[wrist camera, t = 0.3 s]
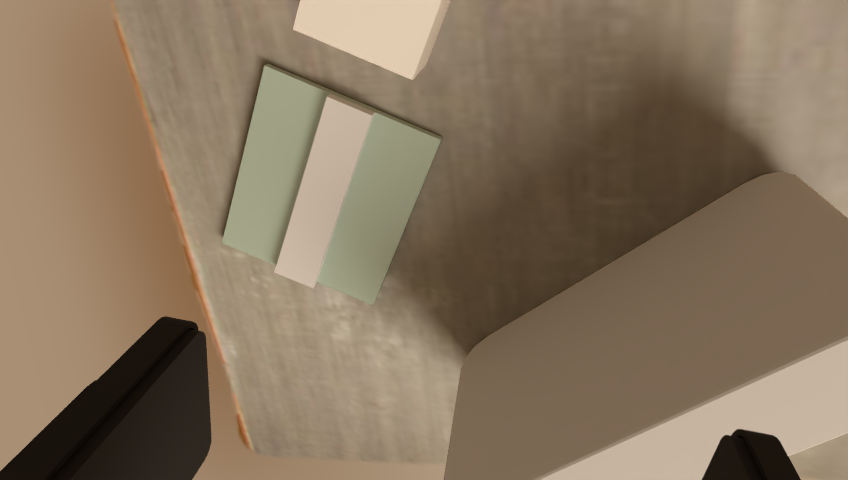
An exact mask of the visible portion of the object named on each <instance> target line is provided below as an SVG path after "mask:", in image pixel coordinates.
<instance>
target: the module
mask: <svg viewBox="0 0 848 480" xmlns="http://www.w3.org/2000/svg"><path fill="white" fill-rule="evenodd" d="M450 1H451V0H300V4H299V8H298V11H297V15H296V19H295V23H294V27H293V30H296V31H298V32H300V33H303V34H305V35H307V36H310V37H312V38H314V39H317V40H319V41H322V42H324V43H326V44H329V45H331V46H333V47H336V48H338V49H340V50H343V51H345V52H347V53H350V54H352V55H355V56H357V57H359V58H362V59H364V60H366V61H369V62H371V63H373V64H376V65H378V66H380V67H383V68H385V69H387V70H390V71H392V72H395V73H397V74H399V75H402V76H404V77H406V78H409V79H411V80H413V79H414V78H415V77H416V76H417V74H418V73H419V72H420V71H421V70H422V69H423V68H424V67H425V66H426V64H427V62H428V60H429V57H430V54H431V52H432V49H433V46H434V44H435V41H436V38H437V36H438V33H439V30H440V28H441V25H442V22H443V20H444V17H445V14H446V11H447V9H448V6H449V3H450Z"/></svg>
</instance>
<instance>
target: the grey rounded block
mask: <svg viewBox="0 0 848 480" xmlns="http://www.w3.org/2000/svg"><path fill="white" fill-rule="evenodd" d="M737 429H744V430H749V431H754V432H759V433H764V434H769V435H774V436H775V437H777V438H778V439H779V441H780V442H781V444H782V446H783V448H784V450H785V451H786V453H787V455H788V456H791V455H793V454H796V453H798V452H801V451H803V450H806V449H808V448H811V447H813V446H816V445H819V444H821V443H824V442H826V441H829V440H831V439H834V438H836V437H839V436H841V435H844V434H847V433H848V218H847V217H846V216H844V215H843V214H842V213H841V212H840V211H838V210H837V209H836V208H835V207H834V206H832V205H831V204H830V203H829V202H828V201H826V200H825V199H824V198H823V197H821V196H820V195H819V194H818V193H817V192H815V191H814V190H813V189H812V188H811V187H809V186H808V185H807V184H806V183H805V182H803V181H802V180H801V179H800V178H798V177H797V176H796V175H792V174H789V173H785V172H775V173H770V174H765V175H761V176H759V177H757V178H755V179H752V180H750V181H748V182H746V183H744V184H742V185H740V186H739V187H737V188H735V189H734V190H732V191H730V192H729V193H727V194H725V195H724V196H722V197H720V198H718V199H717V200H715V201H713V202H712V203H710V204H708V205H707V206H705V207H703V208H702V209H700V210H698V211H697V212H695V213H693V214H692V215H690V216H688V217H687V218H685V219H683V220H682V221H680V222H678V223H677V224H675V225H673V226H672V227H670V228H668V229H666V230H665V231H663V232H661V233H660V234H658V235H656V236H655V237H653V238H651V239H650V240H648V241H646V242H645V243H643V244H641V245H640V246H638V247H636V248H635V249H633V250H631V251H630V252H628V253H626V254H625V255H623V256H621V257H620V258H618V259H616V260H615V261H613V262H611V263H609V264H608V265H606V266H604V267H603V268H601V269H599V270H598V271H596V272H594V273H593V274H591V275H589V276H588V277H586V278H584V279H583V280H581V281H579V282H578V283H576V284H574V285H573V286H571V287H569V288H568V289H566V290H564V291H563V292H561V293H559V294H557V295H556V296H554V297H552V298H551V299H549V300H547V301H546V302H544V303H542V304H541V305H539V306H537V307H536V308H534V309H532V310H531V311H529V312H527V313H526V314H524V315H522V316H521V317H519V318H517V319H516V320H514V321H512V322H511V323H509V324H507V325H506V326H504V327H502V328H500V329H499V330H497V331H495V332H494V333H492V334H490V335H489V336H487V337H486V338H484V339H483V340H482V341H481V342H479V343H478V344H477V345H475V346H474V348H473V349H472V350H471V351H470V353H469V354H468V355H467V356H466V358H465V360H464V363H463V365H462V368H461V373H460V379H459V385H458V392H457V398H456V405H455V411H454V417H453V424H452V430H451V436H450V443H449V449H448V455H447V462H446V468H445V475H444V480H702V478H703V476H704V474H705V472H706V470H707V468H708V465H709V463H710V461H711V459H712V457H713V455H714V453H715V451H716V448H717V446H718V444H719V442H720V440H721V438H722V437H723V436H725V435H730V436H731V435H732V434H733V432H734V431H735V430H737Z"/></svg>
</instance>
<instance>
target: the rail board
mask: <svg viewBox="0 0 848 480" xmlns="http://www.w3.org/2000/svg"><path fill="white" fill-rule="evenodd" d="M441 139H442V137H441V136H439V135H436V134H434V133H432V132H429V131H427V130H424V129H422V128H420V127H417V126H415V125H413V124H410V123H408V122H406V121H403V120H401V119H398V118H396V117H394V116H391V115H389V114H387V113H384V112H382V111H380V110H377V109H375V108H372V107H370V106H368V105H365V104H363V103H361V102H358V101H356V100H353V99H351V98H349V97H346V96H344V95H342V94H339V93H337V92H335V91H332V90H330V89H327V88H325V87H323V86H320V85H318V84H316V83H313V82H311V81H309V80H306V79H304V78H301V77H299V76H297V75H294V74H292V73H290V72H287V71H285V70H282V69H280V68H278V67H275V66H273V65H271V64H267V65H264V69H263V73H262V78H261V82H260V86H259V90H258V94H257V99H256V103H255V107H254V111H253V115H252V119H251V124H250V128H249V132H248V136H247V140H246V145H245V149H244V153H243V157H242V161H241V165H240V170H239V174H238V178H237V182H236V186H235V191H234V195H233V199H232V203H231V207H230V212H229V216H228V220H227V224H226V228H225V232H224V237H223V241H222V243H223V244H225V245H227V246H230V247H232V248H235V249H237V250H239V251H242V252H244V253H247V254H249V255H252V256H254V257H256V258H259V259H261V260H264V261H266V262H269V263H271V264H273V265H276V269H275V273H277V274H280V275H282V276H284V277H287V278H289V279H292V280H294V281H297V282H299V283H301V284H304V285H306V286H309V287H311V288H313V287H314V286H315V284H316V283H319V284H322V285H324V286H327V287H329V288H332V289H334V290H336V291H339V292H341V293H344V294H346V295H348V296H351V297H353V298H356V299H358V300H361V301H363V302H365V303H368V304H370V305H374V302H375V300H376V298H377V295H378V293H379V290H380V288H381V285H382V283H383V281H384V278H385V276H386V273H387V271H388V268H389V266H390V264H391V261H392V259H393V256H394V254H395V251H396V249H397V246H398V244H399V242H400V239H401V237H402V234H403V232H404V229H405V227H406V225H407V222H408V220H409V217H410V215H411V212H412V210H413V208H414V205H415V203H416V200H417V198H418V195H419V193H420V190H421V188H422V186H423V183H424V181H425V178H426V176H427V173H428V171H429V169H430V166H431V164H432V161H433V159H434V156H435V154H436V151H437V149H438V147H439V144H440V142H441Z"/></svg>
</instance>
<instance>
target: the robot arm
mask: <svg viewBox="0 0 848 480" xmlns="http://www.w3.org/2000/svg"><path fill="white" fill-rule="evenodd" d="M210 444H211V423H210V404H209V387H208V368H207V349H206V336H205V334H204V332H201V331H198V326H197V324H196V323H194V322H192V321H186V320H181V319H176V318H171V317H162V318H160V319H159V320H158V321H157V322H156V323H155V324H154V325H153V326H152V327H151V328H150V329H149V330H148V331H147V332H146V333H145V334H144V335H142V336H141V337H140V338H139V339H138V340H137V341H136V342H135V343H134V345H132V346H131V347H130V348H129V349H128V350H127V351H126V352H125V353H124V354H123V355H122V356H121V357H120V358H119V359H118V360H117V361H116V362H115V363H114V364H113V365H112V366H111V367H110V368H109V369H108V370H107V371H106V372H105V373H104V374H103V375H102V376H101V377H100V378H99V379H98V380H96V381H94V382H93V383H91V384H90V385H89V386H87V387H86V388H85V389H84V390H83V391H82V392H81V393H80V394H79V395H78V396H77V397H76V398H75V399H74V400H73V401H72V402H71V403H70V404H69V405H68V406H67V407H66V408H65V409H64V410H63V411H62V412H61V413H60V414H59V415H58V416H57V417H55V418H54V419H53V420H52V421H51V423H49V424H48V425H47V426H46V427H45V428H44V430H42V431H41V432H40V433H39V434H38V435H37V436H36V437H35V438H34V439H33V440H32V441H31V442H30V443H29V444H28V445H27V446H26V447H25V448H24V449H23V450H22V451H21V452H20V453H19V454H18V455H17V456H16V457H14V458H13V459H12V460H11V461H10V462H9V463H8V464H7V465H6V466H5V467H4V468H3V469H2V470H1V471H0V480H192V479H193V477H194V476H195V474H196V473H197V471H198V469H199V468H200V466H201V465H202V463H203V462H204V460H205V458H206V456H207V454H208V452H209V449H210ZM702 480H801V479H800V477H799V476H798V474H797V472H796V470H795V468H794V466H793V464H792V463H791V461H790V459H789V457H788V455H787V453H786V451H785V450H784V448H783V446H782V444H781V442H780V441H779V439H778V438H777V437H775V436H774V435H769V434H764V433H759V432H754V431H749V430H744V429H737V430H735V431H734V432H733V434H732V435H731V436H730V435H725V436H723V437H722V438H721V440H720V442H719V444H718V446H717V448H716V451H715V453H714V455H713V457H712V459H711V461H710V463H709V465H708V468H707V470H706V472H705V474H704V476H703V478H702Z"/></svg>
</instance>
